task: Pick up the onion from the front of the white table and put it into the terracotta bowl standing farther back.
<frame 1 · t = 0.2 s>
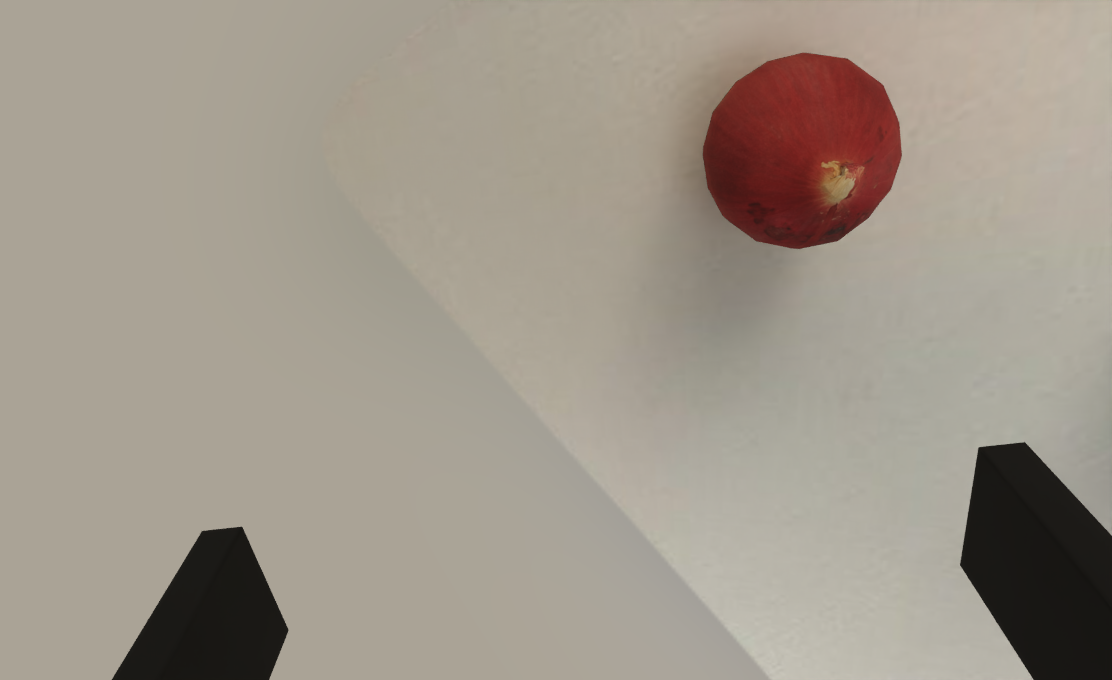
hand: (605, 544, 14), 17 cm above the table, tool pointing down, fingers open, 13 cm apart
onion: (767, 126, 27), on the table
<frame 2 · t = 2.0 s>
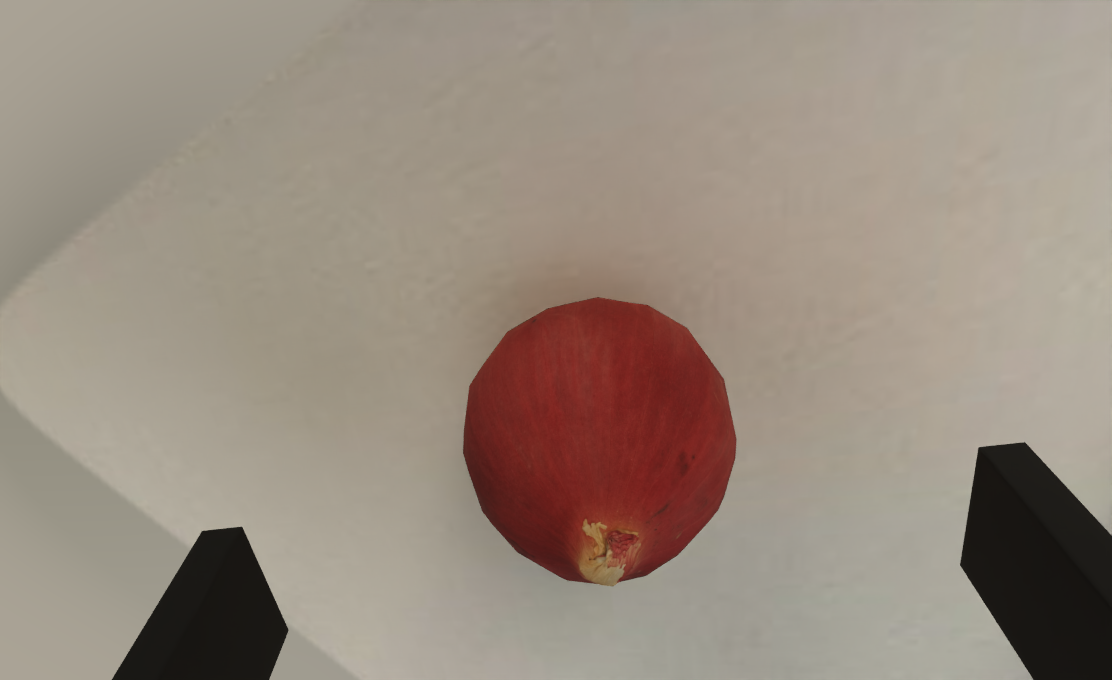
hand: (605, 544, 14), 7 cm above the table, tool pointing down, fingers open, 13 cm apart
onion: (591, 345, 20), on the table
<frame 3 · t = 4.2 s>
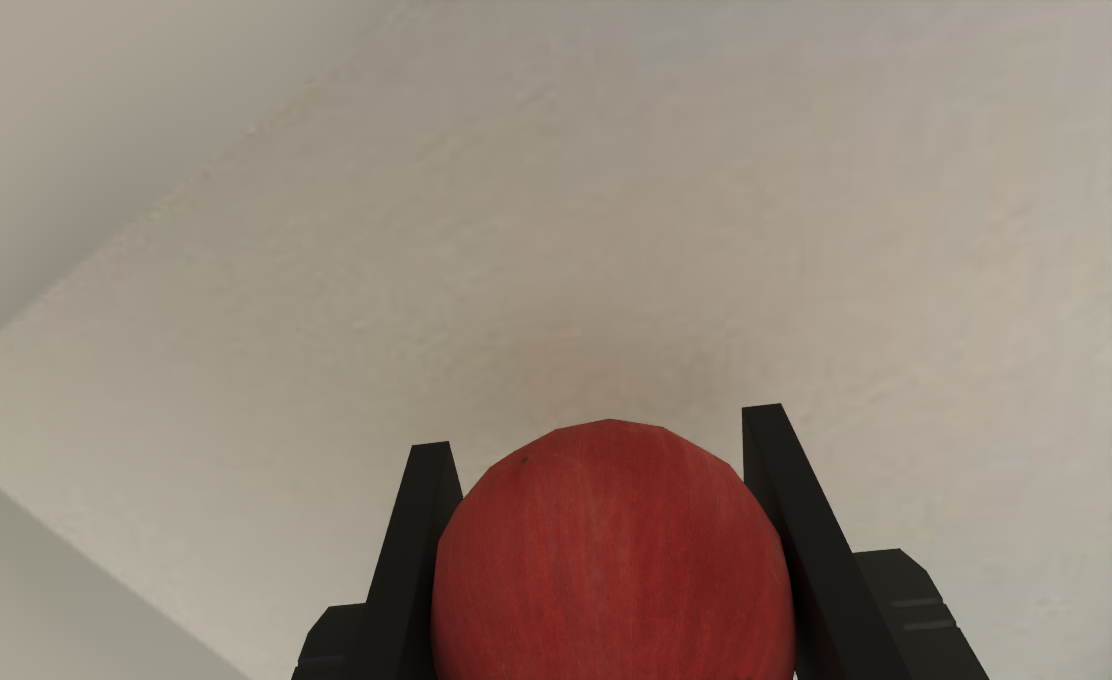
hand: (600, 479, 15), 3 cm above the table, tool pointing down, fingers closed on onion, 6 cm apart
onion: (598, 455, 16), point 3 cm above the table, touching gripper
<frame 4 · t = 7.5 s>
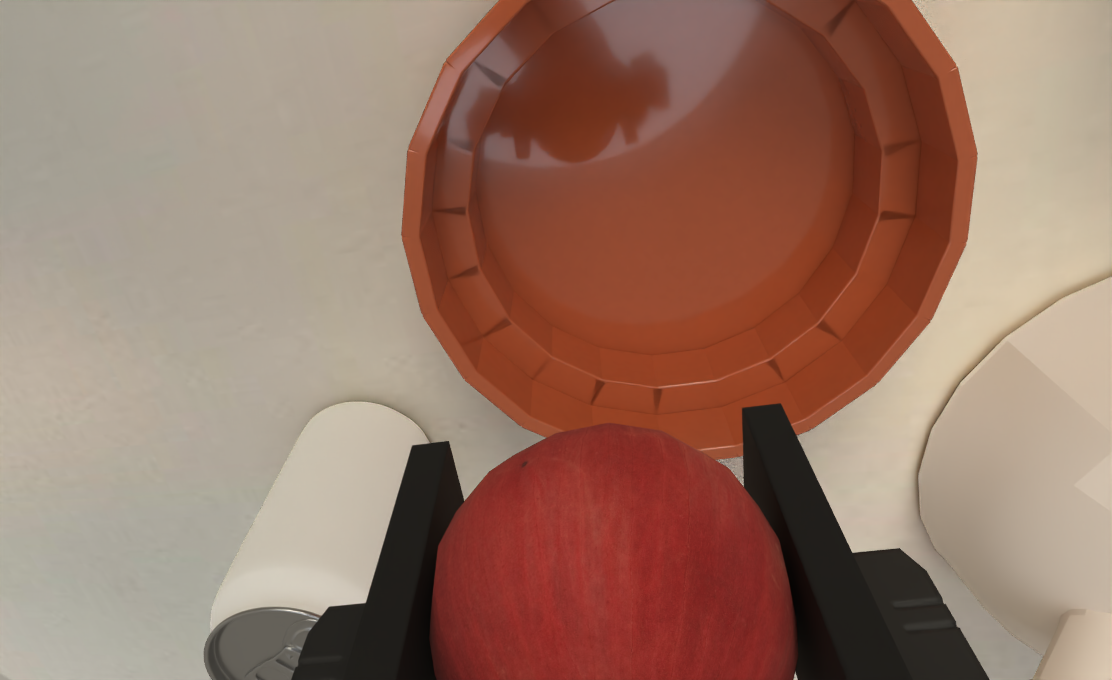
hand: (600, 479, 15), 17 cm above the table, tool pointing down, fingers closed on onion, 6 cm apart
bowl: (662, 186, 29), on the table
onion: (598, 458, 16), point 16 cm above the table, touching gripper
can: (369, 450, 36), on the table
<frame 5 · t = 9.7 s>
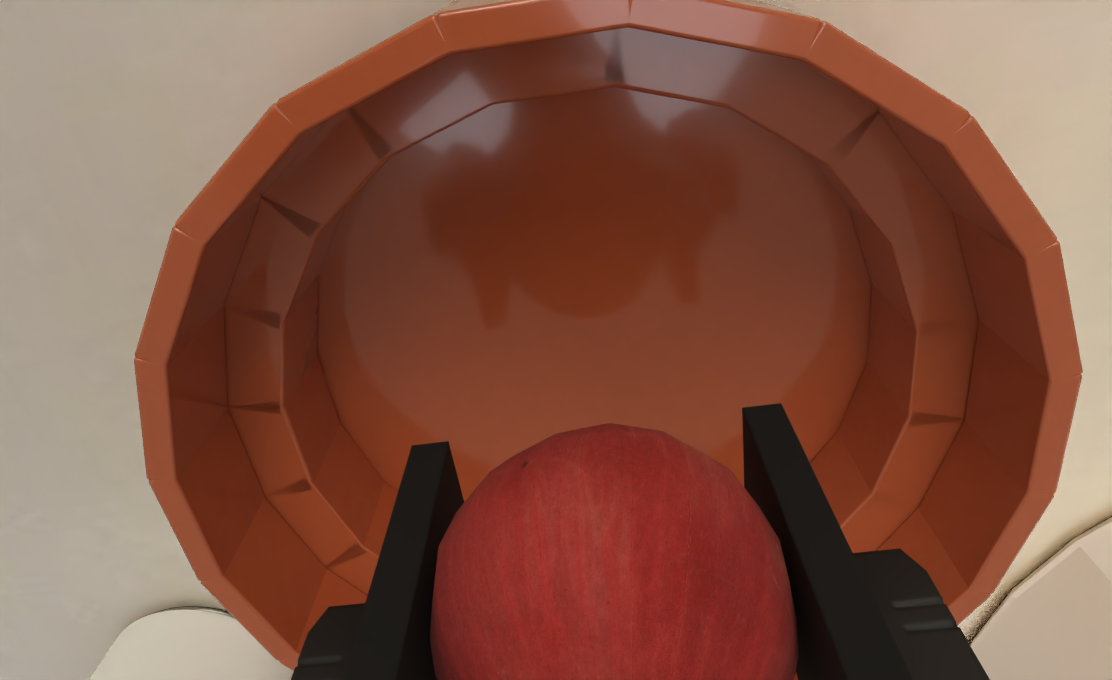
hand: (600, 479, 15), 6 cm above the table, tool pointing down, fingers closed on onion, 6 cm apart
bowl: (591, 345, 20), on the table
onion: (598, 458, 16), point 5 cm above the table, touching gripper
can: (213, 659, 27), on the table
when the fingers open (2 cm above the table, at t = 11.2 s): onion stays where it is, resting on bowl.
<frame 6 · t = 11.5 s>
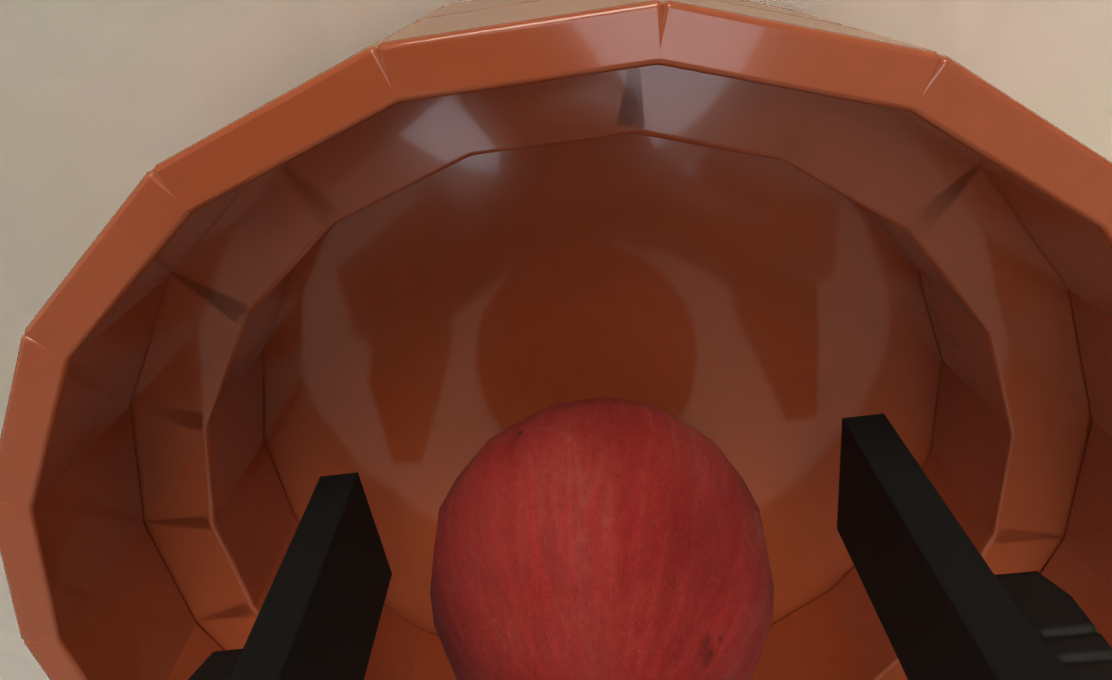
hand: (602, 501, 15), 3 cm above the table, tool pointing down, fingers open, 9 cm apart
bowl: (596, 427, 17), on the table
onion: (596, 431, 16), resting on bowl
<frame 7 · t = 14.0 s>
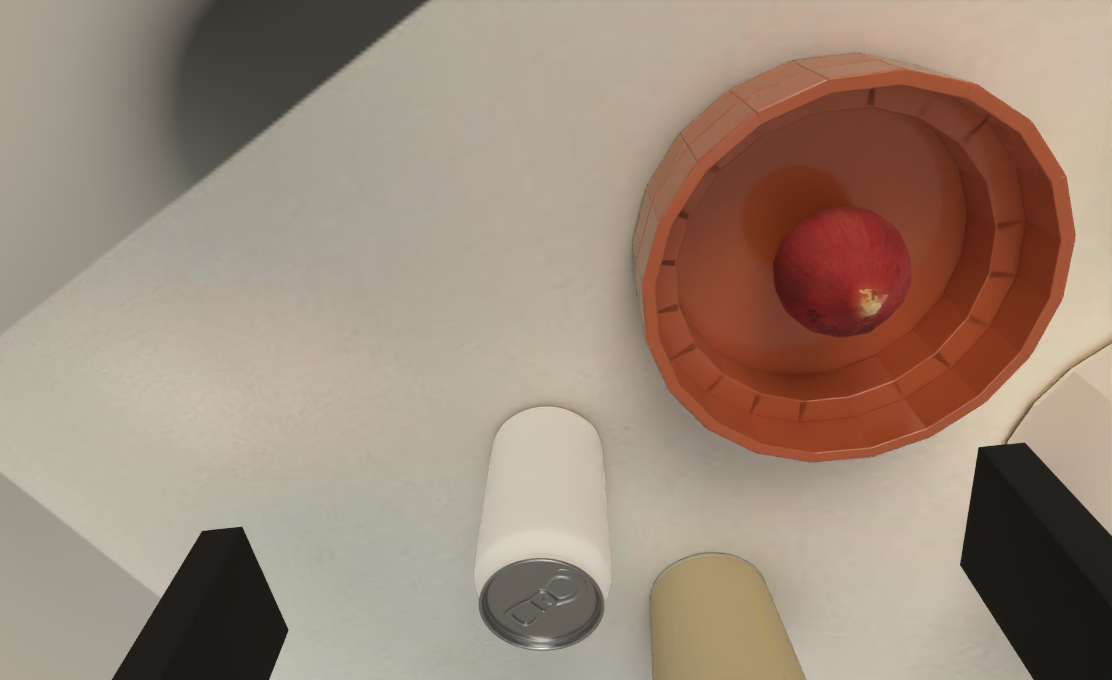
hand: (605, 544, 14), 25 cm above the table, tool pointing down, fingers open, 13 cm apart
bowl: (812, 244, 38), on the table
onion: (814, 242, 37), resting on bowl
coffee cup: (707, 593, 49), on the table
can: (547, 446, 44), on the table
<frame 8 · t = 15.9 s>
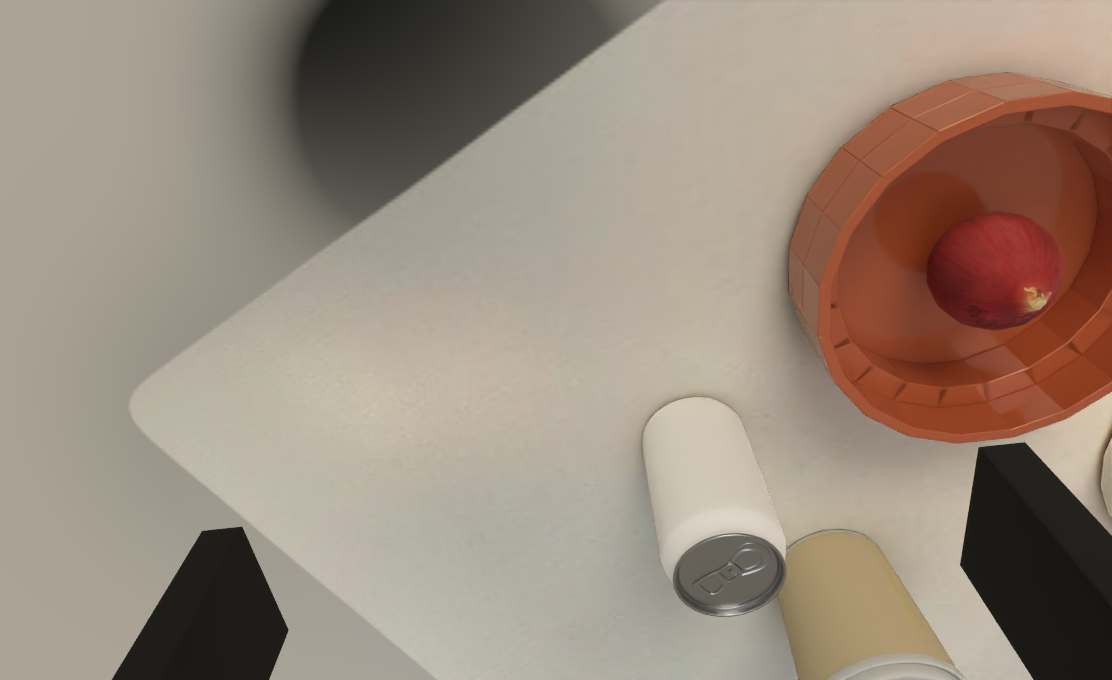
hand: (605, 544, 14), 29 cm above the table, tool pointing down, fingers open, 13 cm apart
bowl: (951, 244, 41), on the table
onion: (955, 243, 41), resting on bowl
coffee cup: (827, 567, 53), on the table
can: (691, 433, 48), on the table
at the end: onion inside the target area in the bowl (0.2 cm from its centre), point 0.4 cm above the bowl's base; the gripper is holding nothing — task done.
